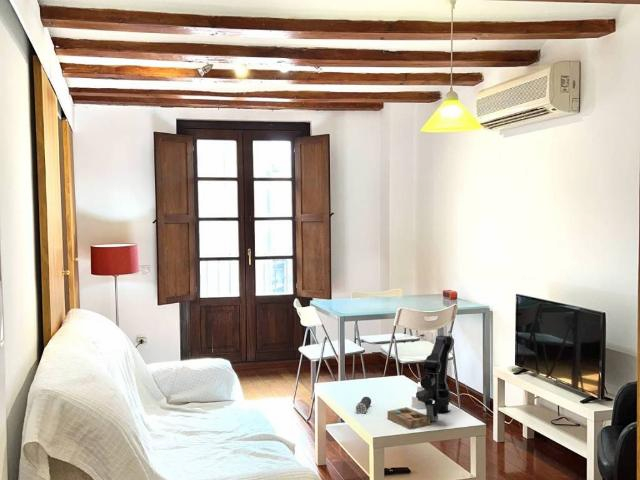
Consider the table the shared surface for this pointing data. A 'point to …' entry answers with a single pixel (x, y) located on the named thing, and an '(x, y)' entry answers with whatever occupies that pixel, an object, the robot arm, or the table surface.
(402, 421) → the socket board
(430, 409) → the grey upright block
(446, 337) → the robot arm
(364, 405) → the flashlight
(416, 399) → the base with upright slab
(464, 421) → the table surface
